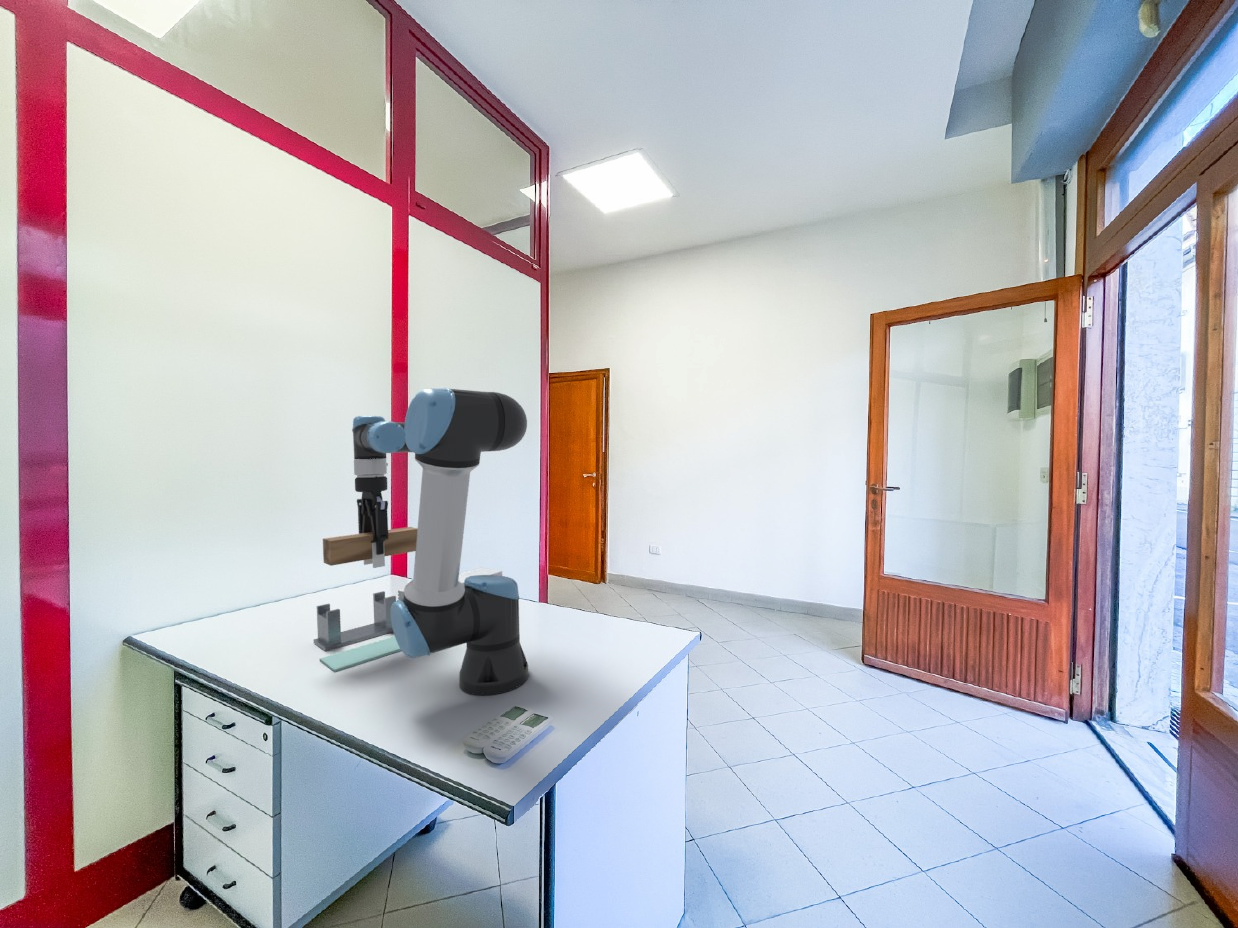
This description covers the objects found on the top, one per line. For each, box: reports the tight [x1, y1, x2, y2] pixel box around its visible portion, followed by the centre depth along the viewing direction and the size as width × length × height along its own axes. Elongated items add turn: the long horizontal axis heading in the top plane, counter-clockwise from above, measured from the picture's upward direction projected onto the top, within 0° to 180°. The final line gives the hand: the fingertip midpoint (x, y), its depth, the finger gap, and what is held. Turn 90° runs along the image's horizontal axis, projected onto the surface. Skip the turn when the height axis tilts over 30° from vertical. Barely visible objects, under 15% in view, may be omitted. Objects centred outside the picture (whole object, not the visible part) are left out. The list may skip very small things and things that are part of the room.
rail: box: [322, 526, 418, 566], centre depth 129 cm, size 5×22×6 cm, turn 138°
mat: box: [319, 635, 402, 673], centre depth 129 cm, size 10×24×1 cm, turn 138°
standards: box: [312, 591, 397, 652], centre depth 140 cm, size 9×20×10 cm, turn 138°
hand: (374, 565), depth 129 cm, fingers closed on rail, 5 cm apart
